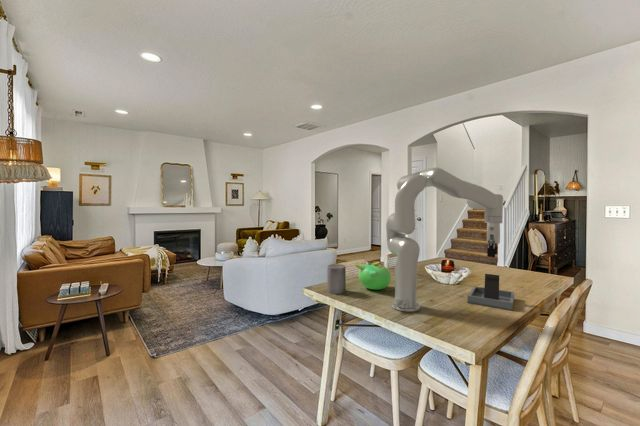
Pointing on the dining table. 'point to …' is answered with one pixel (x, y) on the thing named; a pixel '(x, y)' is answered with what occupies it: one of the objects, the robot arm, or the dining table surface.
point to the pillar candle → (336, 279)
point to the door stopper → (491, 286)
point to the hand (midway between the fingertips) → (492, 255)
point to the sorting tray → (503, 303)
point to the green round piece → (374, 276)
